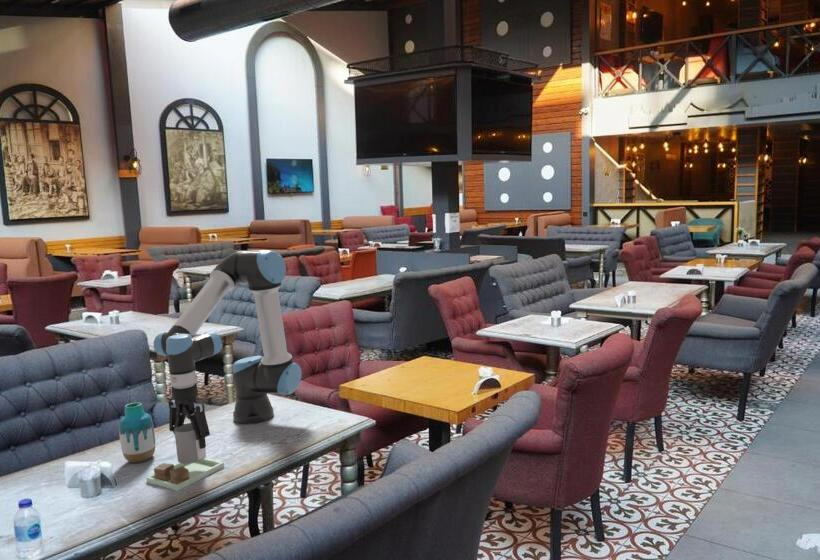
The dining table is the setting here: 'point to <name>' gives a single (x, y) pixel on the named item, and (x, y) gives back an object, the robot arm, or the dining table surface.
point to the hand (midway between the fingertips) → (192, 455)
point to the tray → (190, 473)
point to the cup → (186, 444)
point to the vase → (136, 434)
